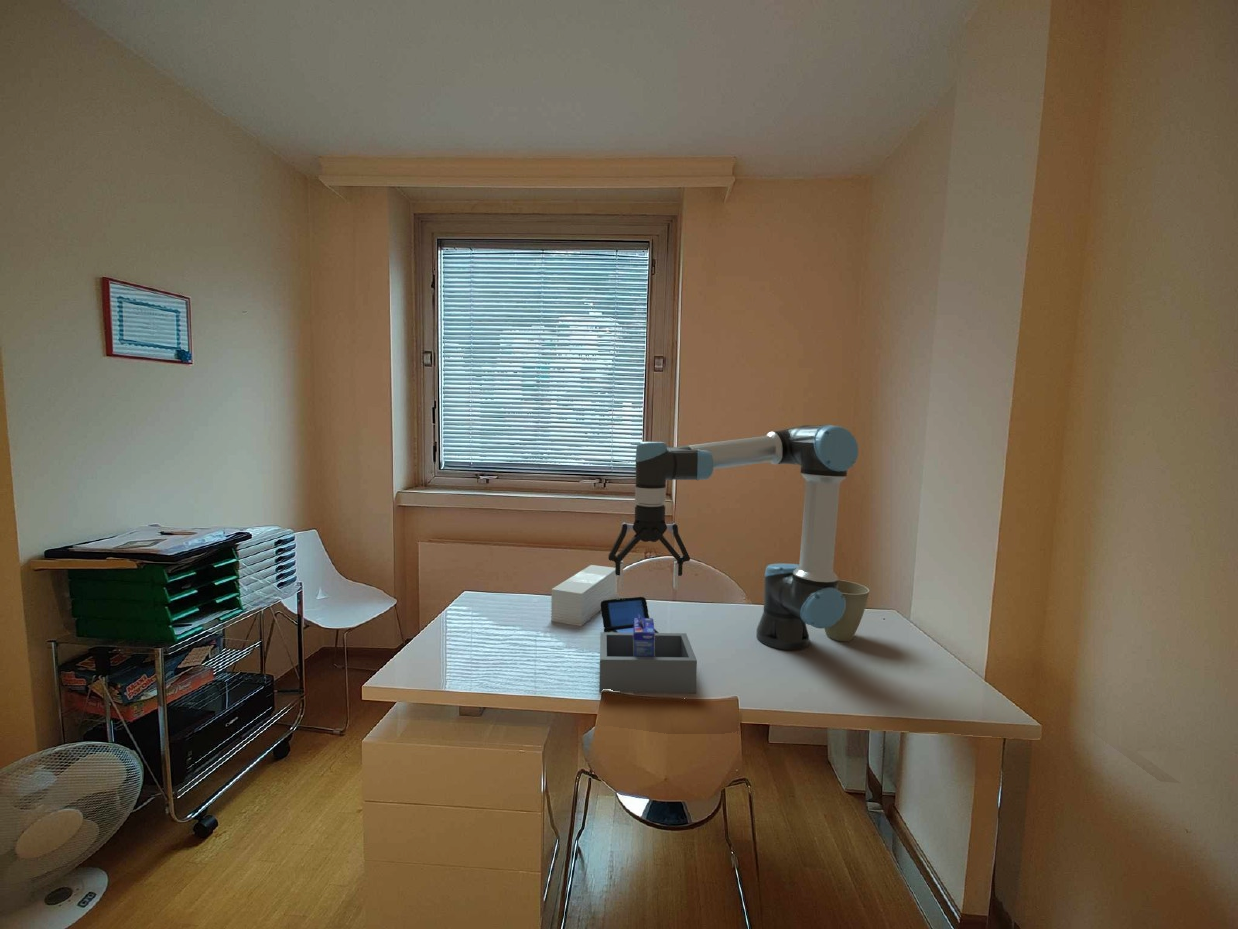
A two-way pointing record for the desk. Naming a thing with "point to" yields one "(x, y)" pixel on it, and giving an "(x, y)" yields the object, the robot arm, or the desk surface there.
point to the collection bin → (647, 664)
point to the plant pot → (849, 611)
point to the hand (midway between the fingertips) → (648, 588)
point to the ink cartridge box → (643, 637)
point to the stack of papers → (583, 595)
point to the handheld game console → (623, 614)
